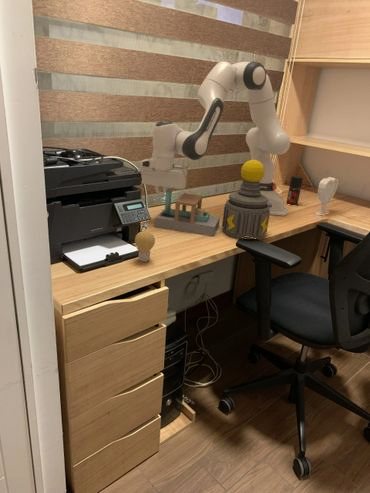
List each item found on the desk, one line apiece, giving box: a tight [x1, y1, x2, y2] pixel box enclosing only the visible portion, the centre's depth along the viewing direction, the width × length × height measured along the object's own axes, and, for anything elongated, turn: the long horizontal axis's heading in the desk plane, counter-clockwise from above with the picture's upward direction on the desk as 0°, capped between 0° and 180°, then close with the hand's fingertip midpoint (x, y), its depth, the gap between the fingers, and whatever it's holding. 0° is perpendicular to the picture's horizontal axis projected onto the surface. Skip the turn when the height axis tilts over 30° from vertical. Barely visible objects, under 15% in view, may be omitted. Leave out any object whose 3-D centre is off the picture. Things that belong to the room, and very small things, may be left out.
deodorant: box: [286, 175, 304, 206], centre depth 202 cm, size 6×6×15 cm
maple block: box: [195, 207, 206, 216], centre depth 156 cm, size 4×4×4 cm
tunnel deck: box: [154, 192, 221, 237], centre depth 157 cm, size 24×14×12 cm, turn 77°
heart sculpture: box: [315, 176, 339, 216], centre depth 191 cm, size 16×5×18 cm, turn 137°
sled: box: [164, 189, 211, 222], centre depth 156 cm, size 18×7×10 cm, turn 77°
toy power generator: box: [221, 159, 270, 240], centre depth 152 cm, size 19×19×30 cm
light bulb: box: [134, 230, 156, 262], centre depth 123 cm, size 6×6×10 cm
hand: (160, 196), depth 157 cm, fingers closed
